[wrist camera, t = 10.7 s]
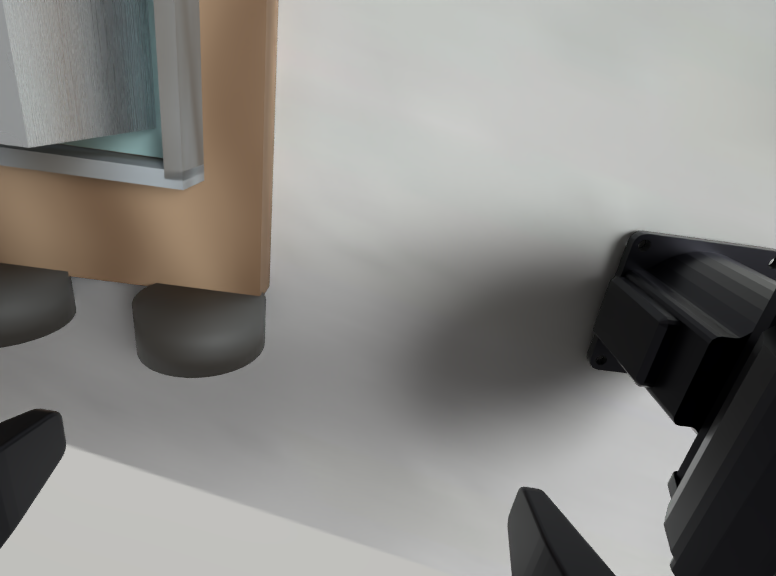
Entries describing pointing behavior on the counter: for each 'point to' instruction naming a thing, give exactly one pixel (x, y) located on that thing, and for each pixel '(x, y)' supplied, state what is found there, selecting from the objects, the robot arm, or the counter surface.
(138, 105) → the grey rectangular block
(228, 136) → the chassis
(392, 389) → the counter surface
